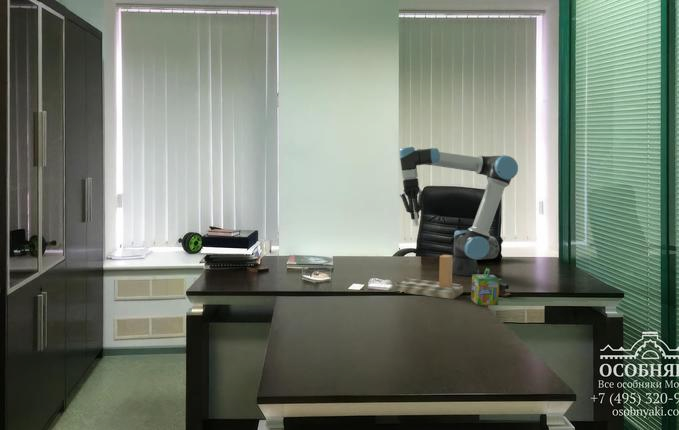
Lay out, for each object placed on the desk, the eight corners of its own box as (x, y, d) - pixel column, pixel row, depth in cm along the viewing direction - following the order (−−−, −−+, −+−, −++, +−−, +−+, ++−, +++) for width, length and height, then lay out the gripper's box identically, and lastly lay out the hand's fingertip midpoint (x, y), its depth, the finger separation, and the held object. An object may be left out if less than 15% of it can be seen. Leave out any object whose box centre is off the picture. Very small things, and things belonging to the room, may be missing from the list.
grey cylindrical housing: (449, 260, 348) (449, 235, 346) (487, 257, 359) (488, 233, 358) (464, 264, 334) (464, 239, 333) (503, 261, 346) (504, 236, 344)
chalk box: (470, 300, 250) (471, 266, 249) (491, 300, 251) (492, 266, 250) (477, 305, 241) (478, 270, 240) (498, 305, 242) (500, 270, 240)
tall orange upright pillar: (439, 287, 259) (439, 256, 258) (443, 284, 264) (444, 254, 263) (447, 288, 257) (448, 257, 256) (451, 285, 263) (452, 255, 261)
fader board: (394, 291, 266) (394, 282, 266) (405, 286, 278) (405, 277, 277) (453, 299, 253) (453, 289, 252) (462, 293, 264) (462, 283, 264)
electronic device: (505, 298, 255) (505, 281, 254) (486, 294, 262) (486, 278, 261) (510, 296, 258) (511, 279, 257) (491, 293, 265) (492, 276, 264)
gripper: (418, 177, 293) (423, 223, 295) (395, 180, 288) (401, 227, 290) (425, 176, 286) (431, 223, 288) (401, 180, 281) (407, 228, 283)
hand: (416, 225), depth 289 cm, fingers closed
